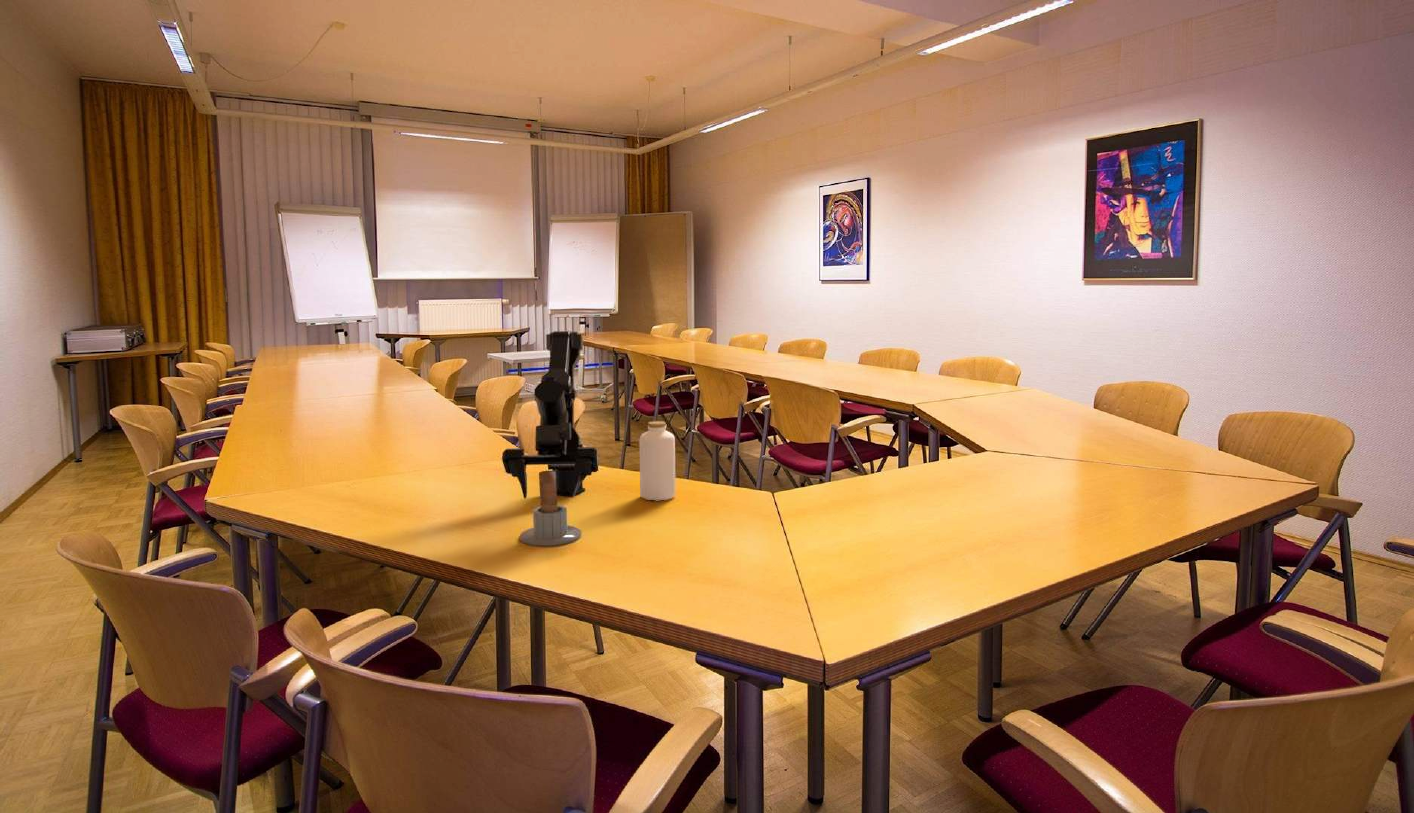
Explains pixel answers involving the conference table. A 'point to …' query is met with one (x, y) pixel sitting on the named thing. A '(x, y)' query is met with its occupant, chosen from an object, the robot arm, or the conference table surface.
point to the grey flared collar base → (550, 529)
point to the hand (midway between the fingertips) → (548, 496)
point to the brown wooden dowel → (548, 491)
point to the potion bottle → (657, 463)
